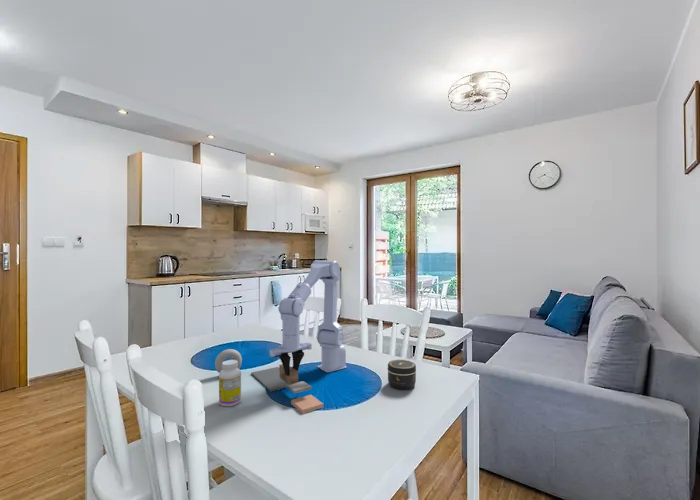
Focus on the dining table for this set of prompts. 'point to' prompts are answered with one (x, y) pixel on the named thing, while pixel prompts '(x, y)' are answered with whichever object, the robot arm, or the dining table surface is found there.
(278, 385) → the mat
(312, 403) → the tile
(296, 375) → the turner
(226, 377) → the supplement bottle
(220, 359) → the donut
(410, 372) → the jar
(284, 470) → the dining table surface
